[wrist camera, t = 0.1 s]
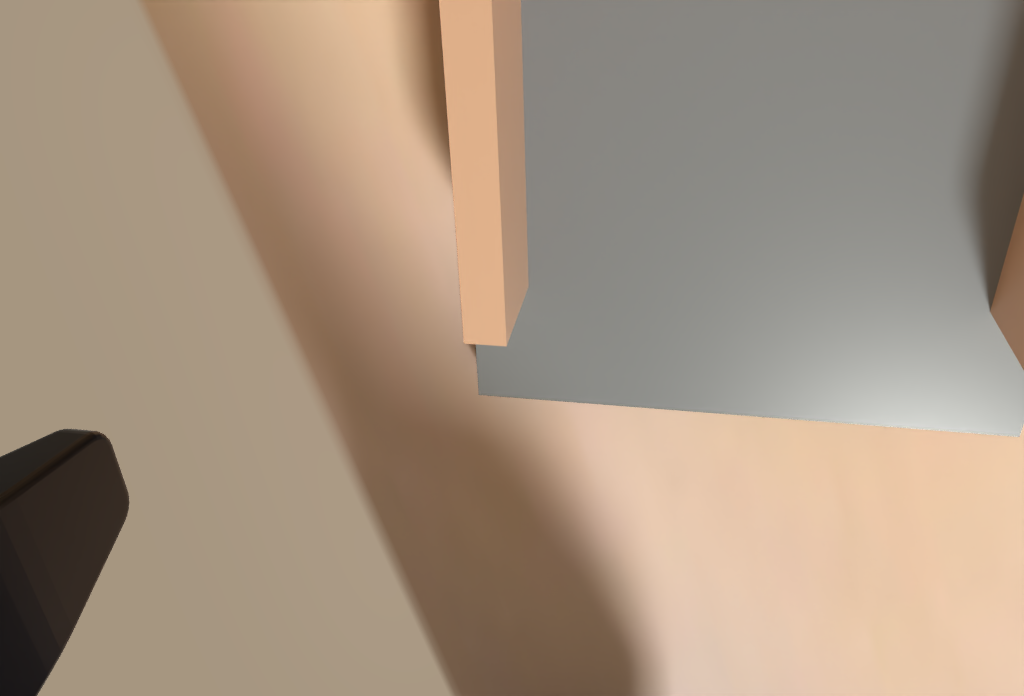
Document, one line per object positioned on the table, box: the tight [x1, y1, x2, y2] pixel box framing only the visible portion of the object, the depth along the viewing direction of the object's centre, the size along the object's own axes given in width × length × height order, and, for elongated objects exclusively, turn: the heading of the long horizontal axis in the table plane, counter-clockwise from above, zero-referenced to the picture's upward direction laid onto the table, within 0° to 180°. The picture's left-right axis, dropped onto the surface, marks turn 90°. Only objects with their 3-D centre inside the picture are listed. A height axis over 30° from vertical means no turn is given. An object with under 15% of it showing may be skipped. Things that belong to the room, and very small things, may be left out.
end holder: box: [439, 0, 1024, 437], centre depth 18 cm, size 16×14×4 cm
